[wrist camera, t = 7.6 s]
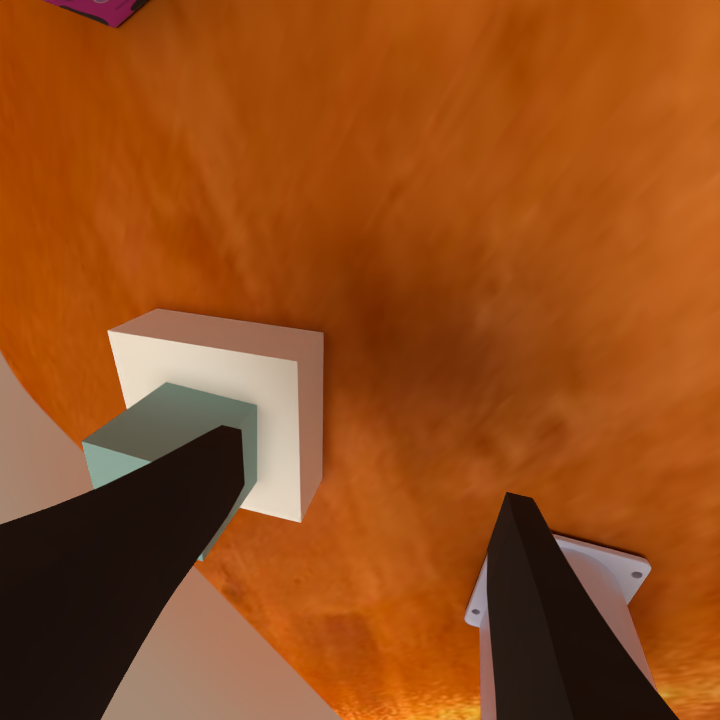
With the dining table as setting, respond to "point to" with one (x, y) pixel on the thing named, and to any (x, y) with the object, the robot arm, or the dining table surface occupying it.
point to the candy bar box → (101, 9)
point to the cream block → (240, 390)
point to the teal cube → (170, 435)
